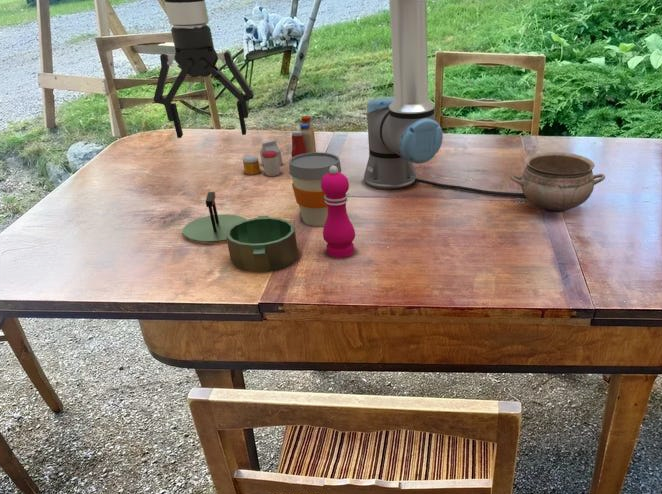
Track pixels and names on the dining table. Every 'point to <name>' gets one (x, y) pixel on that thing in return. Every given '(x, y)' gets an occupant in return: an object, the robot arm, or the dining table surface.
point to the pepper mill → (337, 215)
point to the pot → (262, 244)
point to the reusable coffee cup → (311, 184)
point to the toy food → (272, 155)
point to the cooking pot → (557, 180)
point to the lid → (210, 224)
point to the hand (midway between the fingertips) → (212, 134)
